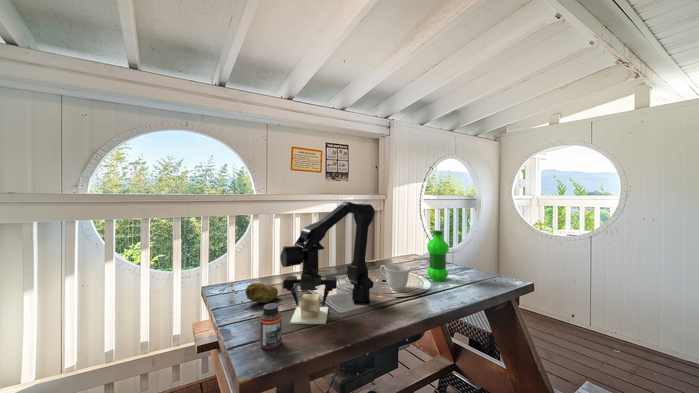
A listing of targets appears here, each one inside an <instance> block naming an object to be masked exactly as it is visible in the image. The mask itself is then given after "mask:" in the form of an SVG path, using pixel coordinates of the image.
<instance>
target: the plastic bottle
mask: <svg viewBox="0 0 699 393" xmlns="http://www.w3.org/2000/svg"><path fill="white" fill-rule="evenodd" d="M433 235H434V237H433V238H432V239H430V241H428V242H427V243H426V244H427V245H426V248H427V252H429V265H428V268H427V275H428V276H429V278H430V280H432V281H434V282H440V283H442V282H443V281H444V280H446V278H448V270H447V267H446V266H447V264H446V263H447V254H448V253H449V250H450V249H449V248H450V247H449V244H448V243H447V242H446V241H445V240H444V239H443V238H442V235H443V230H439V229H438V230H433Z"/></svg>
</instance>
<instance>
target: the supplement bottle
mask: <svg viewBox="0 0 699 393" xmlns="http://www.w3.org/2000/svg"><path fill="white" fill-rule="evenodd" d="M259 319H260V320H259V328H260V329H259V330H260V331H259V332H260V334H259V335H260V336H259V337H260V338H259V339H260V340H259V342H260V346H261V348H262V349H266V350H272V349H275V348H277V347H279V346H280V345H281V343H282V312H281V311H280V310H279V305H278V304H277V303H275V302H273V303H272V302H270V303H266V304H265V305H263V311H262V313H261V314H260V318H259Z"/></svg>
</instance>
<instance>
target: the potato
mask: <svg viewBox="0 0 699 393" xmlns="http://www.w3.org/2000/svg"><path fill="white" fill-rule="evenodd" d="M278 292H279V290H278V288H276V287H275V286H271V285H267V284H264V283H260V282H253V283H250V284H249V285H247V287H246V288H245V295H246V299H247V300H248V299H249V301H251V302H257V303H258V302H259V303H261V304H262V303H263V304H265V303H266V304H267V303H269V302H270V303H271V301H273V300H274V299H276V298H277V297H278V295H279V293H278Z"/></svg>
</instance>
